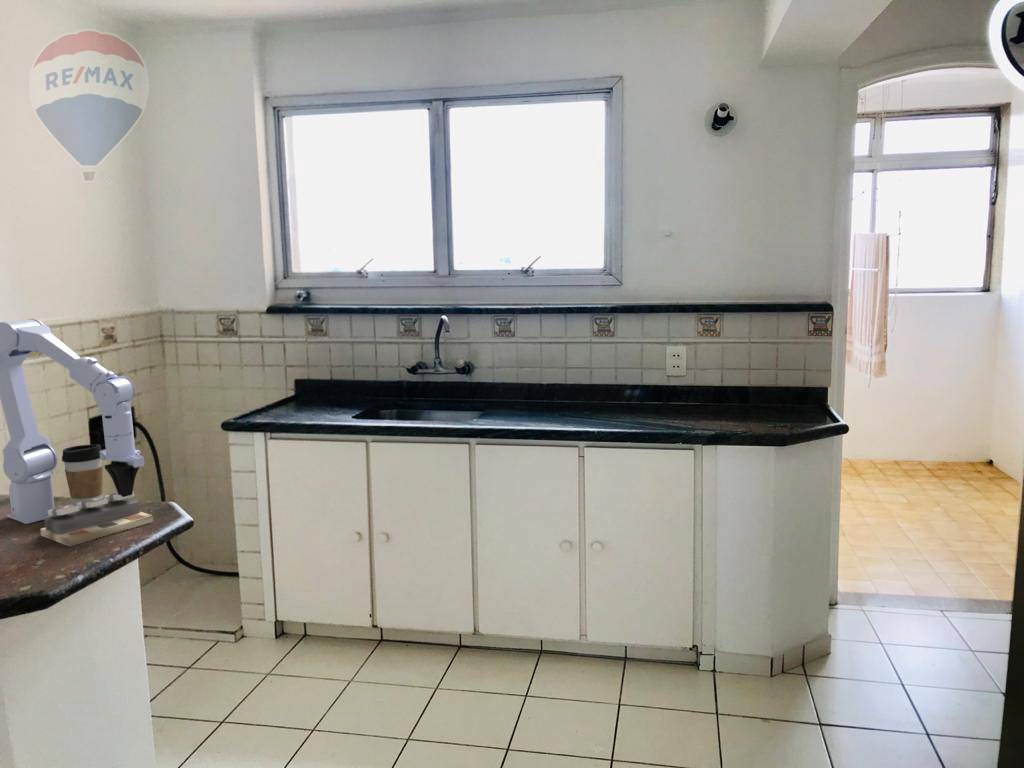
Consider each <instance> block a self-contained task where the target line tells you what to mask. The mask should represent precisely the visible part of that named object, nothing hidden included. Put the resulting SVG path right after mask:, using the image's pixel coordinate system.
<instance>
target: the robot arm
mask: <svg viewBox="0 0 1024 768" xmlns="http://www.w3.org/2000/svg"><path fill="white" fill-rule="evenodd" d="M36 351H37V352H40V353H42V354H43V355H45V356H46V357H48V358H50V359H51V360H53V361H55V362H56V363H58V364H59V365H61V366H62V367H63V368H65V369H67V370H68V374H69V377H70V379H71V380H73V381H74V382H76V383H77V384H78V385H80V386H81V387H83V388H84V389H86V390H87V391H88V392H90V393H91V394H92V397H93V400H94V402H95V404H96V405H97V406H98V409H99V413H100V414H101V417H102V427H103V435H104V436H103V437H104V445H105V449H103V450H102V449H101V450H102V451H99V452H100V459H101V460H102V461H105V460H106V461H108V462H110V463H109V464H108V463H107V464H106V465H104V469H105V470H106V472H107V473H108V474H109V476H110V477H111V480H112V482H113V484H114V487H115V489H116V493H117V492H118V494H119V495H120V494H121V496H122V497H125V496H129V495H132V493H133V492H134V486H135V481H136V477H137V473H138V471H139V469H140V467H144V466H145V459H144V458H145V457H144V456H142V455H141V454H142V452H141V450H140V449H136V444H135V443H136V442H135V436H134V425H133V416H132V415H133V414H132V404H131V401H132V400H133V399H134V397H135V395H136V388H135V385H134V383H133V382H132V380H130V378H129V377H127V376H123V375H119V376H118V375H116V374H115V373H114V372H113V371H110V370H108V369H107V368H105V367H103V366H102V365H101V364H99V363H98V359H96V358H94V357H90V356H83V357H80V355H78V354H77V353H76V352H74V350H72V349H71V348H70V347H69V346H67V345H66V344H65V343H64V342H63V341H61V340H60V339H59V338H57V337H56V336H55V335H54V334H53V333H52V332H51V328H50V327H49V326H48V325H46V324H44V323H43V322H42V321H41V320H39V319H36V318H29V319H26V320H16V321H8V322H7V321H6V322H5V321H1V322H0V403H1V407H2V410H3V415H4V418H5V423H6V425H7V430H8V433H9V438H10V439H9V441H7V443H6V444H5V446H4V447H3V449H2V453H3V462H2V468H3V472H4V474H5V476H6V477H7V478H8V479H9V480H10V484H9V488H8V495H9V500H10V501H9V503H10V511H11V513H9V514H7V518H9V519H12V520H14V521H18V522H20V523H23V524H25V525H29V524H32V523H36V522H40V521H45V519H44V518H45V517H49V516H53V515H48V510H52V509H54V508H56V507H55V500H54V498H55V497H54V492H53V491H54V490H53V483H52V475H53V474H54V471H53V470H55V468H56V467H57V464H58V456H57V453H56V451H55V449H54V448H53V447H52V445H51V442H50V439H49V438H48V437H46V436H45V435H43V434H41V433H40V432H39V429H38V425H37V420H36V418H35V413H34V412H35V411H34V409H33V405H32V401H31V397H30V392H29V389H28V385H27V382H26V377H25V372H24V370H23V362H25V360H26V359H27V357H28V356H29V355H30V354H32V353H33V352H36Z"/></svg>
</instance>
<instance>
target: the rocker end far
mask: <svg viewBox="0 0 1024 768" xmlns="http://www.w3.org/2000/svg"><path fill="white" fill-rule="evenodd" d="M135 496H136V495H135V492H134V491H133V493H132V495H129V496H125V497H122V496H121V494H120V495H119V494H118V492H117V491H116V492H113V493H110V494H107V495H104V498H103V499H107V501H110V502H115V501H119V500H123V499H127V498H128V499H131V498H133V497H135Z"/></svg>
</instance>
